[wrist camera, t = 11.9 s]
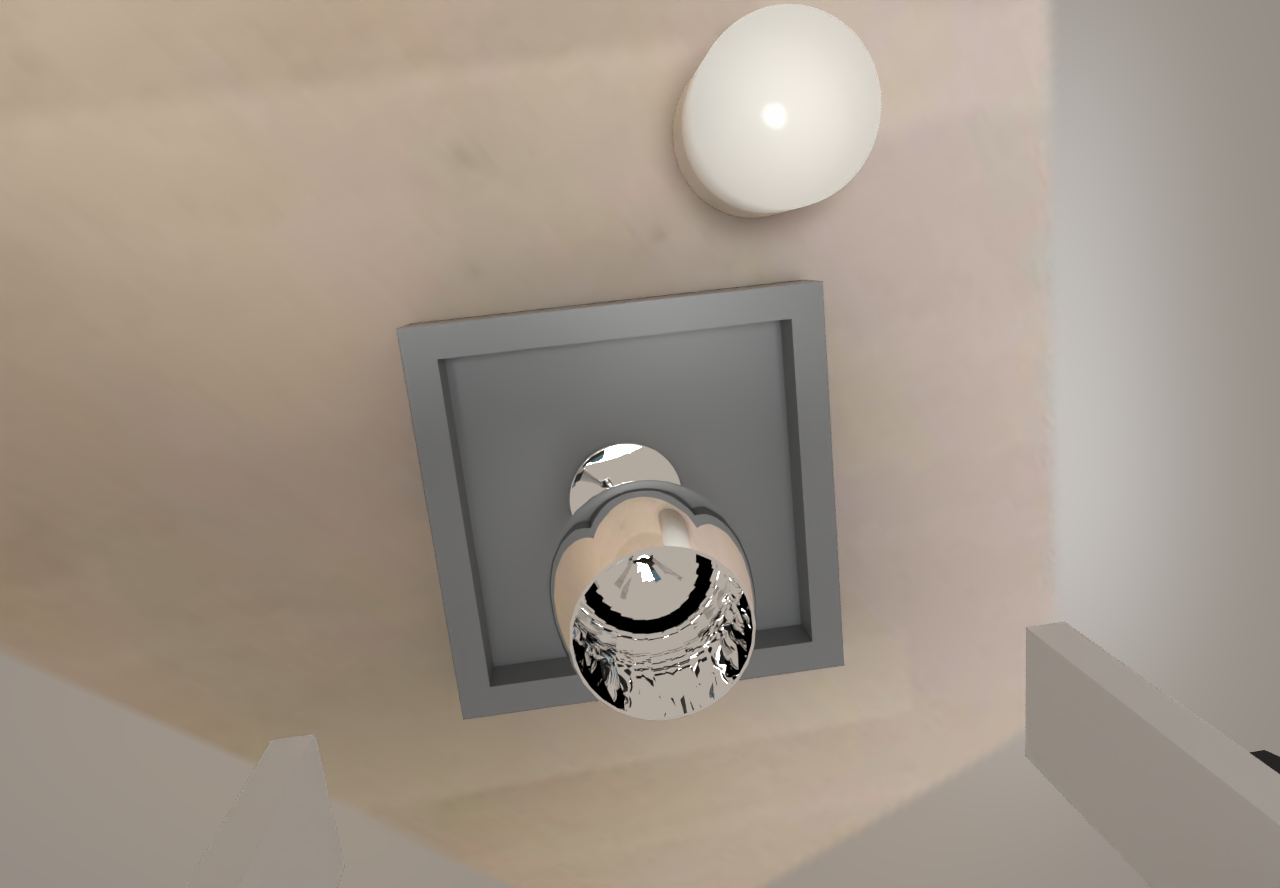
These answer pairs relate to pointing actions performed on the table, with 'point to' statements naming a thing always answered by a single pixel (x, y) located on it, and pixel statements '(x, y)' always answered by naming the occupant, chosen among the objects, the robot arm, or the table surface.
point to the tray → (612, 413)
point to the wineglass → (650, 587)
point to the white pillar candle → (777, 112)
